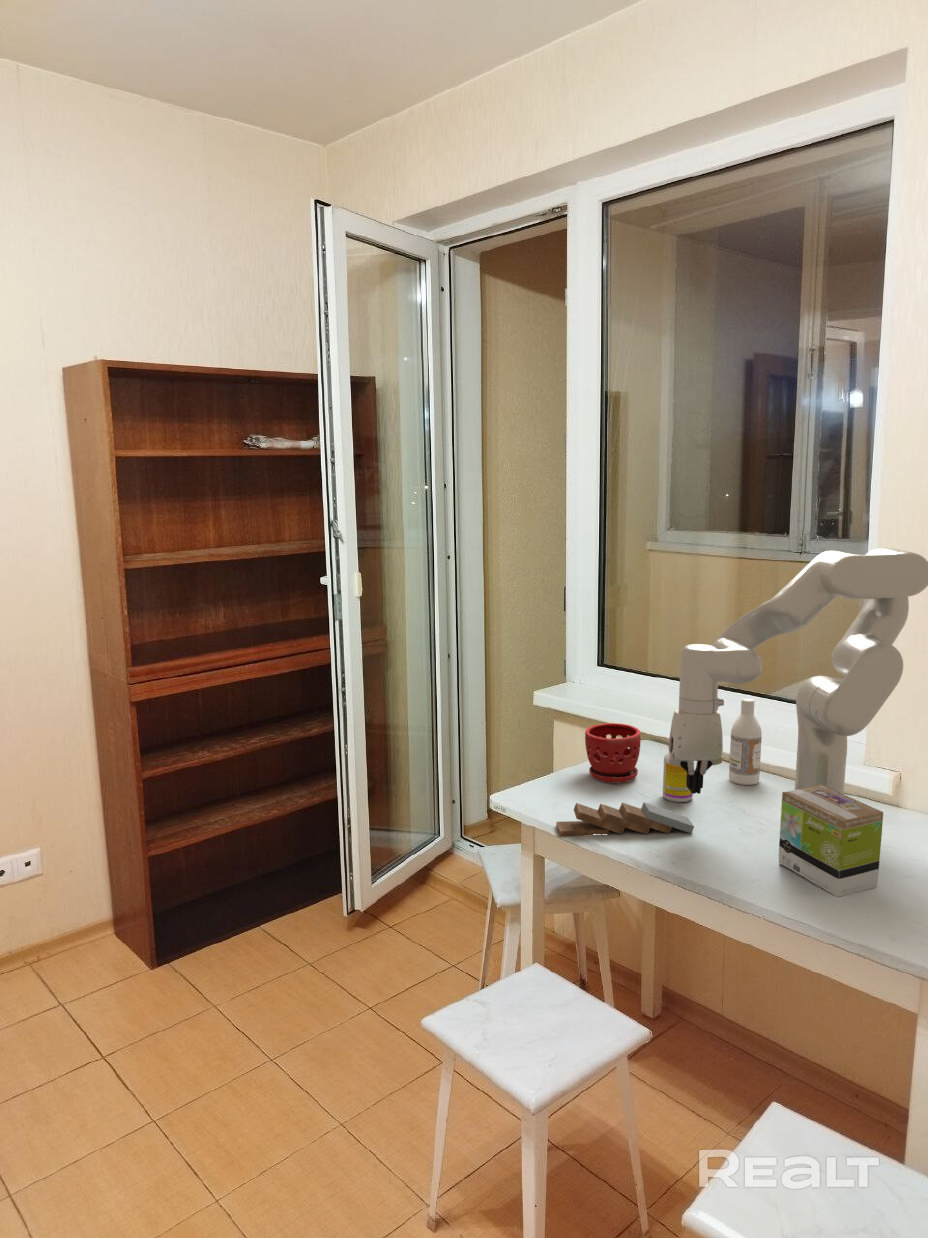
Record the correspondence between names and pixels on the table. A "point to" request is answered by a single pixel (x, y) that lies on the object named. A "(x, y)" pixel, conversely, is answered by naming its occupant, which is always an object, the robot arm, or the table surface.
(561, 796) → the table surface
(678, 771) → the supplement bottle
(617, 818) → the domino
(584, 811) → the domino
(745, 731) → the bath foam
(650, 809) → the head domino
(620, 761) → the plant pot
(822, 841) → the tea box
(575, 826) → the domino
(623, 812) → the domino
